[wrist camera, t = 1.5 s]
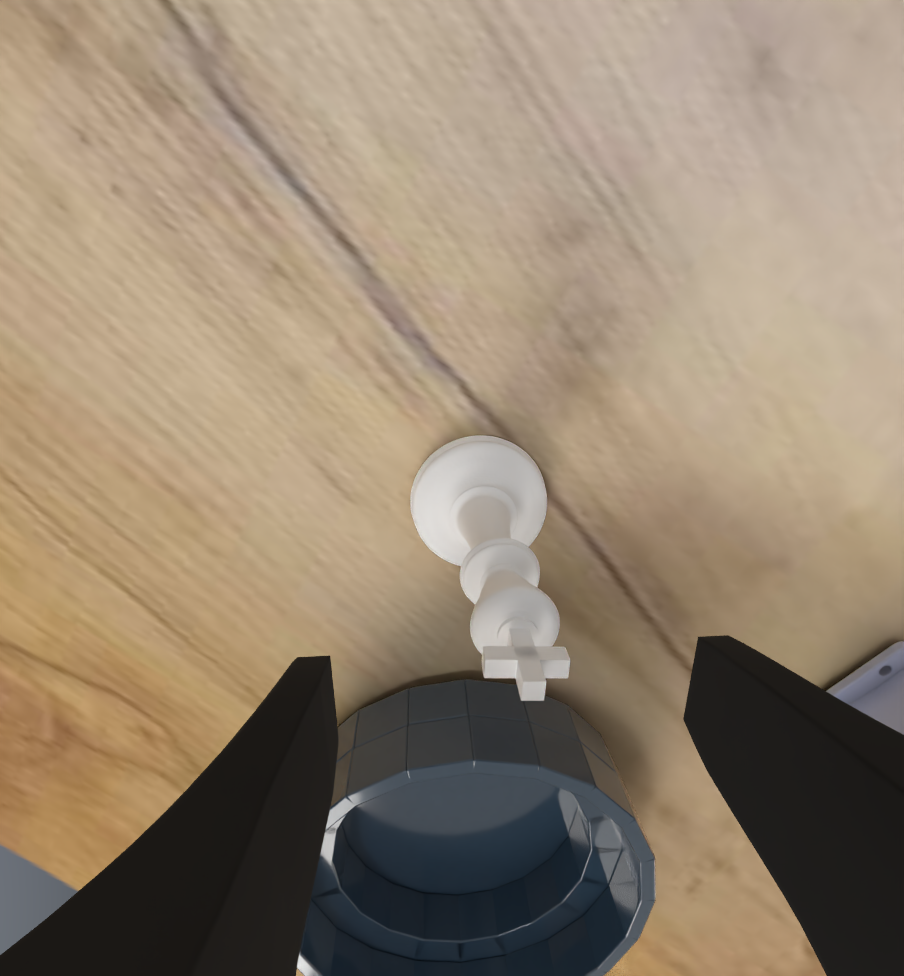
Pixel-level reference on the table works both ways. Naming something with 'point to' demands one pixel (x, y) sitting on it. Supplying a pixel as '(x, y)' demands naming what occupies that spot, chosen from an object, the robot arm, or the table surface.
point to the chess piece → (494, 553)
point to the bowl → (476, 842)
